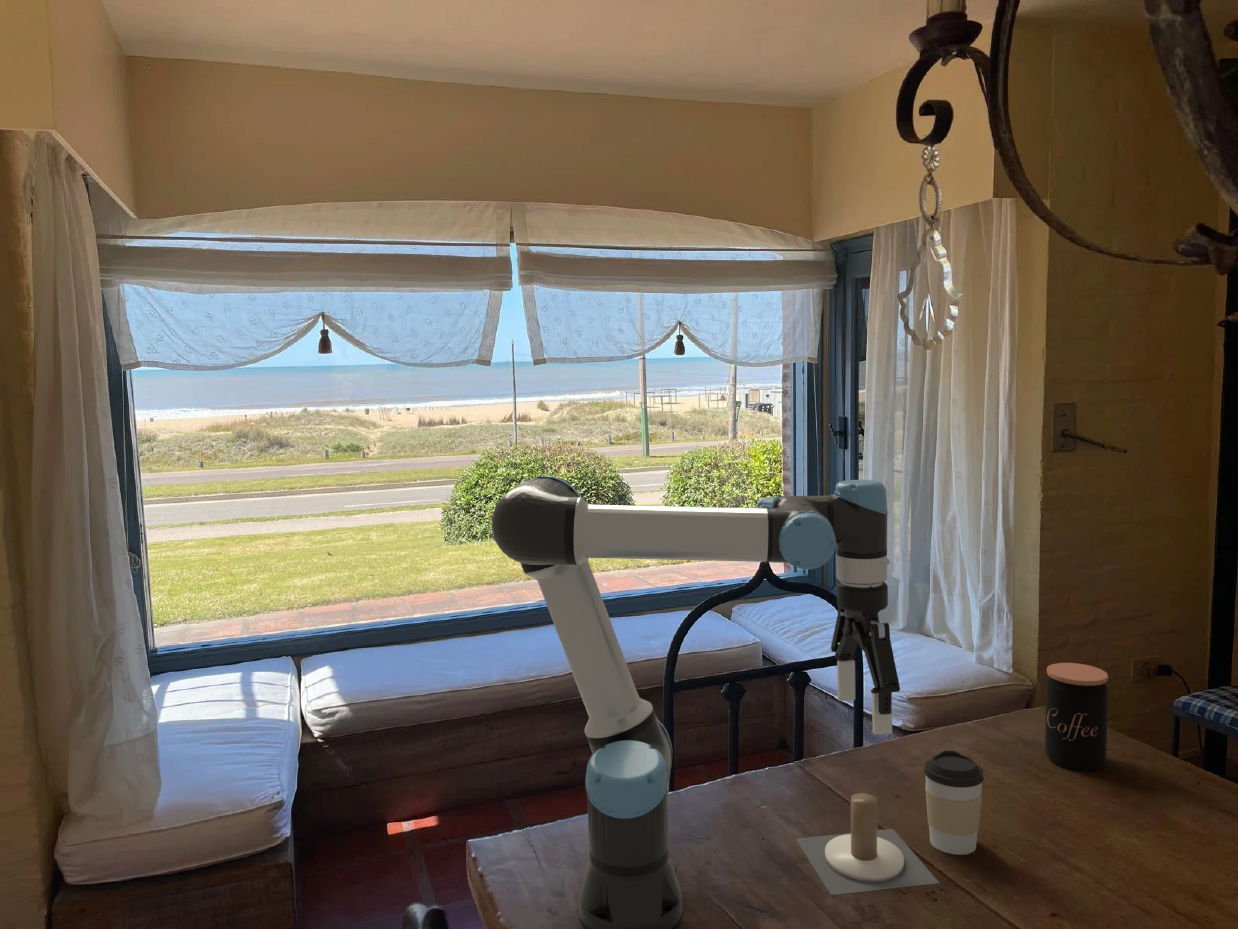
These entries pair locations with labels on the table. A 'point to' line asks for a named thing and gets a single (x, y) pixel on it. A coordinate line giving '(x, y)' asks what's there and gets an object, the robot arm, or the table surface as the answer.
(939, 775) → the coffee cup
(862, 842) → the lid
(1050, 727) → the coffee jar
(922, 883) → the mat
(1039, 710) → the table surface
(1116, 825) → the table surface
